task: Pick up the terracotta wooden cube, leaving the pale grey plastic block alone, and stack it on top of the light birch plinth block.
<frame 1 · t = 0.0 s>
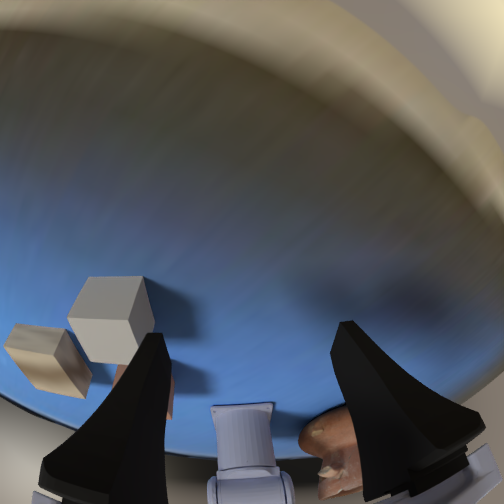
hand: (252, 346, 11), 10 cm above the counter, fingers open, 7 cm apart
grey block: (122, 299, 22), on the counter
birch plinth: (54, 348, 25), on the counter
ceramic jug: (339, 416, 39), on the counter
terracotta cube: (148, 369, 27), on the counter
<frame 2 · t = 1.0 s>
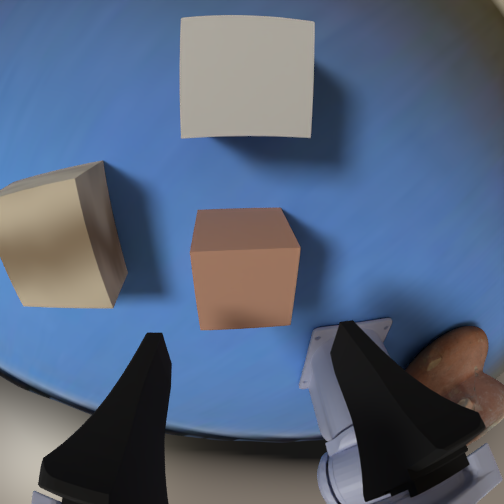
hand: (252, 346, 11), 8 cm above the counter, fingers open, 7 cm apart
grey block: (239, 82, 13), on the counter
birch plinth: (67, 224, 16), on the counter
ceramic jug: (434, 354, 30), on the counter
terracotta cube: (239, 244, 18), on the counter
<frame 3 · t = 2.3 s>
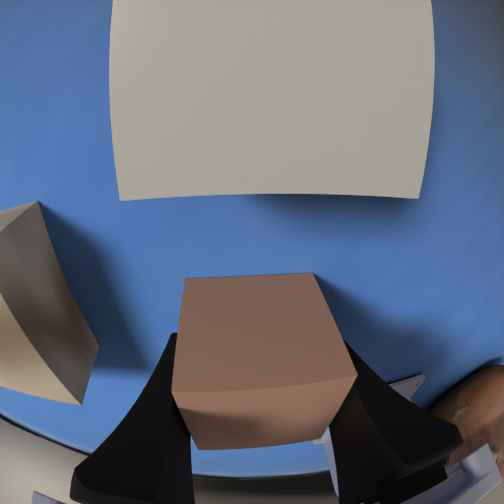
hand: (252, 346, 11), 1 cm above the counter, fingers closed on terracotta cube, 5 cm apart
grey block: (253, 67, 7), on the counter
birch plinth: (15, 284, 10), on the counter
ceramic jug: (456, 392, 24), on the counter
terracotta cube: (249, 321, 12), on the counter, touching gripper
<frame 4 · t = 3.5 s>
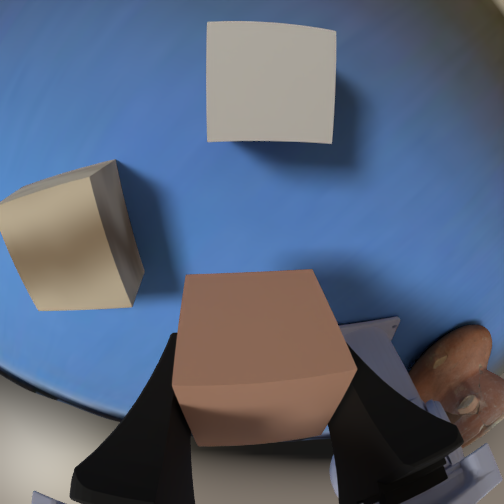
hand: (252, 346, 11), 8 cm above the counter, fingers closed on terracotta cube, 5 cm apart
grey block: (257, 86, 13), on the counter
birch plinth: (80, 226, 17), on the counter
ceramic jug: (439, 353, 30), on the counter
terracotta cube: (249, 318, 12), point 7 cm above the counter, touching gripper
when the fingers open (6 cm above the counter, at t = 5.0 s): terracotta cube drops 1 cm, resting on birch plinth.
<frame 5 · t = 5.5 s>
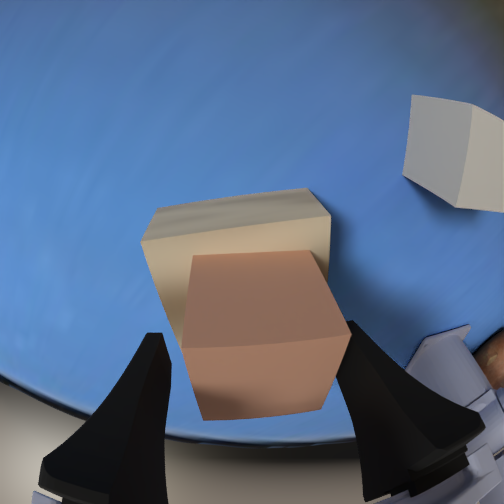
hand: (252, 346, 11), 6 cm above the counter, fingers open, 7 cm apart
grey block: (436, 141, 13), on the counter
birch plinth: (240, 258, 17), on the counter, touching terracotta cube
ceramic jug: (482, 352, 30), on the counter
terracotta cube: (251, 298, 13), point 4 cm above the counter, touching birch plinth
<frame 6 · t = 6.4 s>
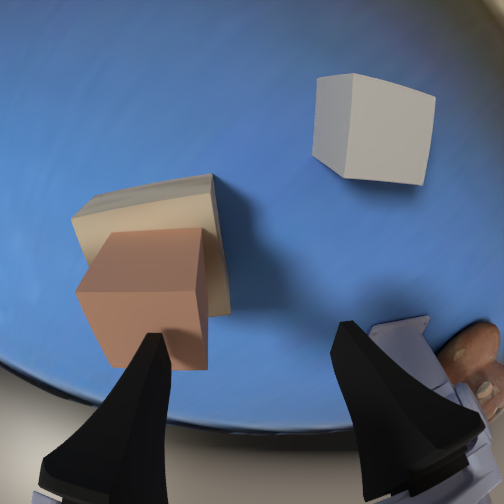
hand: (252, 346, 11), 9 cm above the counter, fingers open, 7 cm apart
grey block: (351, 121, 15), on the counter
birch plinth: (163, 237, 19), on the counter
ceramic jug: (454, 347, 33), on the counter
terracotta cube: (161, 269, 15), point 4 cm above the counter
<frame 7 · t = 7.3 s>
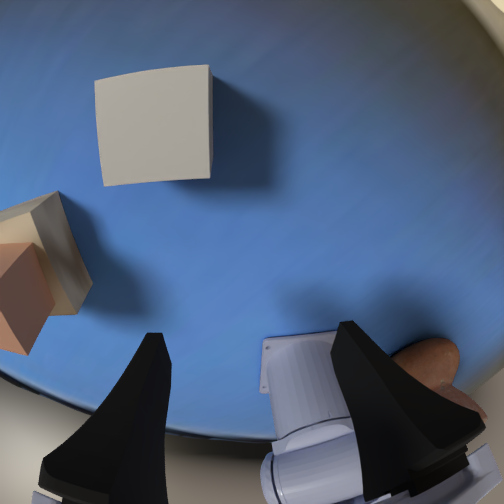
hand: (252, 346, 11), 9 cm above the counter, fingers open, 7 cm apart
grey block: (170, 118, 15), on the counter
birch plinth: (40, 245, 18), on the counter, touching terracotta cube
ceramic jug: (404, 364, 31), on the counter
terracotta cube: (20, 274, 14), point 4 cm above the counter, touching birch plinth
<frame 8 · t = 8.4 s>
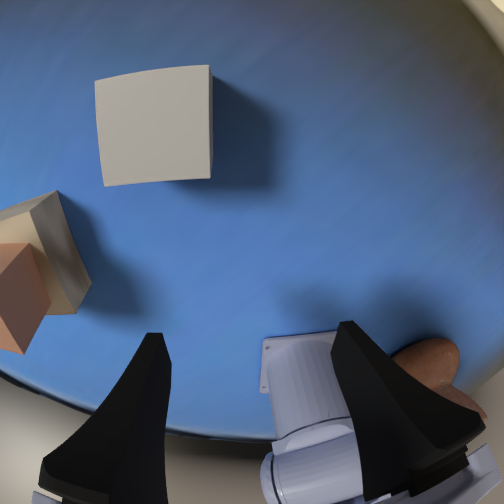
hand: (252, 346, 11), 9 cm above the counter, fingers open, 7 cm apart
grey block: (170, 118, 15), on the counter
birch plinth: (40, 245, 18), on the counter, touching terracotta cube
ceramic jug: (404, 364, 31), on the counter
terracotta cube: (16, 274, 14), point 4 cm above the counter, touching birch plinth
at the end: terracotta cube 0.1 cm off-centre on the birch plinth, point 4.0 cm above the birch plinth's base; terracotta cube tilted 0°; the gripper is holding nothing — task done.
